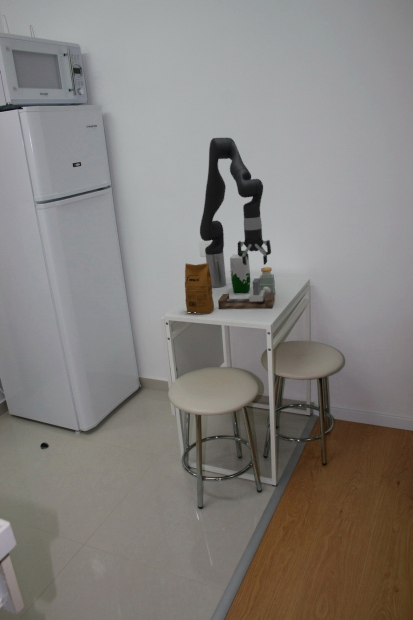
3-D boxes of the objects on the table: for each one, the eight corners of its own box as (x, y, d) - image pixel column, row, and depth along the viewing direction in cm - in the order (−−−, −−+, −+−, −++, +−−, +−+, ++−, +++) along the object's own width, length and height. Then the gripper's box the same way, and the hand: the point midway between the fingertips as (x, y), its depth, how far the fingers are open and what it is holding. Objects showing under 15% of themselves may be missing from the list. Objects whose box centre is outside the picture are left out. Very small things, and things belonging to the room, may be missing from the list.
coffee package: (191, 307, 231) (186, 260, 224) (217, 307, 227) (212, 260, 220) (183, 314, 222) (178, 266, 215) (210, 315, 218) (205, 266, 211)
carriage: (249, 301, 221) (248, 283, 218) (252, 295, 228) (250, 277, 225) (262, 301, 219) (261, 282, 217) (265, 295, 227) (264, 277, 224)
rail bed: (218, 309, 224) (218, 300, 223) (223, 301, 234) (222, 293, 232) (272, 308, 218) (271, 299, 217) (274, 301, 228) (274, 292, 226)
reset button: (260, 278, 230) (260, 270, 229) (262, 275, 235) (261, 267, 233) (271, 278, 229) (270, 269, 228) (272, 275, 233) (272, 267, 232)
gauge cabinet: (260, 299, 232) (258, 278, 229) (262, 293, 239) (261, 273, 236) (273, 299, 230) (272, 278, 227) (275, 293, 238) (274, 273, 235)
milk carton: (249, 293, 242) (246, 253, 235) (231, 294, 244) (228, 254, 237) (252, 288, 250) (249, 249, 243) (234, 289, 252) (230, 250, 245)
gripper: (234, 230, 212) (237, 267, 217) (268, 228, 208) (270, 266, 214) (237, 226, 219) (240, 262, 224) (270, 225, 215) (272, 261, 220)
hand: (255, 264), depth 219 cm, fingers open, 8 cm apart
